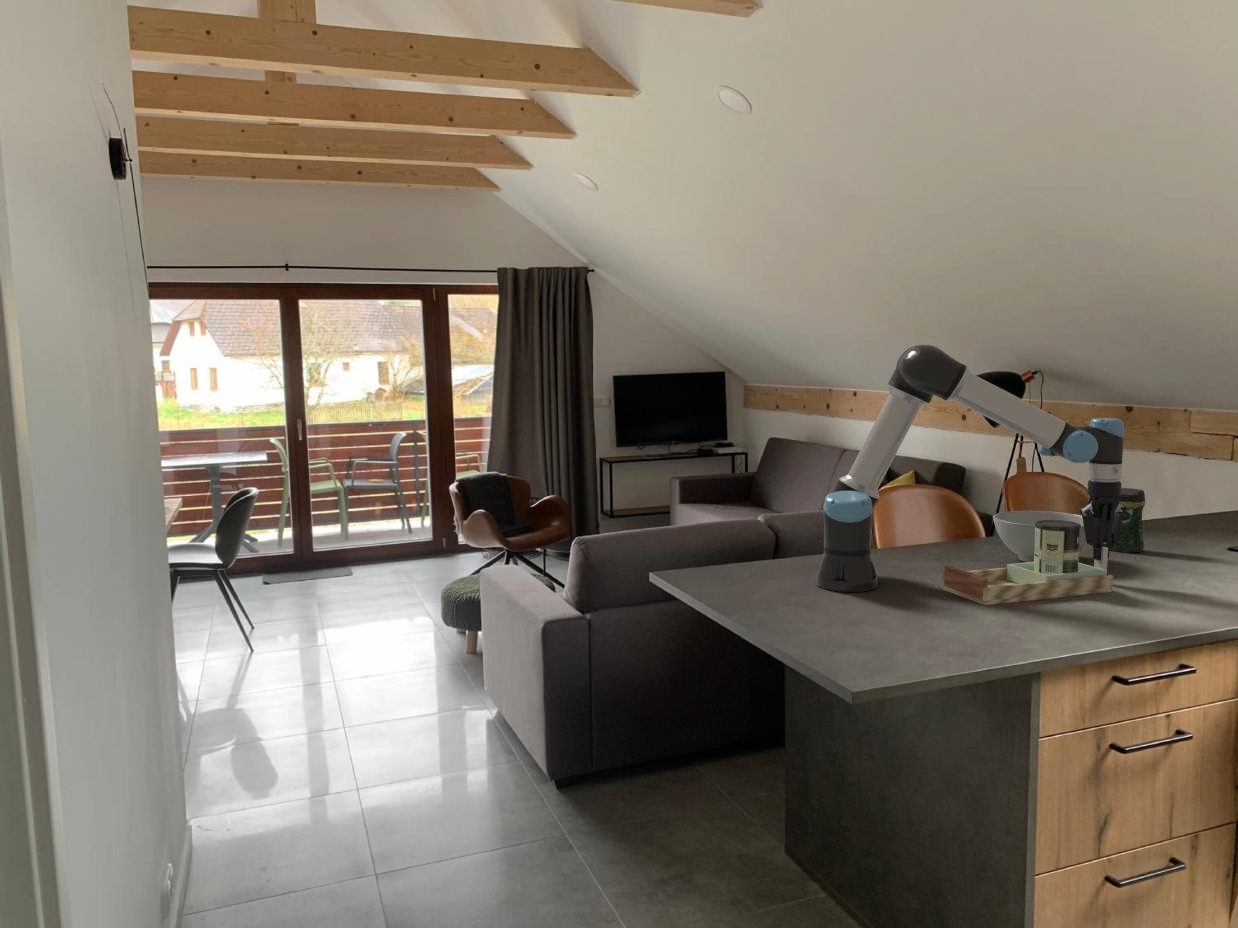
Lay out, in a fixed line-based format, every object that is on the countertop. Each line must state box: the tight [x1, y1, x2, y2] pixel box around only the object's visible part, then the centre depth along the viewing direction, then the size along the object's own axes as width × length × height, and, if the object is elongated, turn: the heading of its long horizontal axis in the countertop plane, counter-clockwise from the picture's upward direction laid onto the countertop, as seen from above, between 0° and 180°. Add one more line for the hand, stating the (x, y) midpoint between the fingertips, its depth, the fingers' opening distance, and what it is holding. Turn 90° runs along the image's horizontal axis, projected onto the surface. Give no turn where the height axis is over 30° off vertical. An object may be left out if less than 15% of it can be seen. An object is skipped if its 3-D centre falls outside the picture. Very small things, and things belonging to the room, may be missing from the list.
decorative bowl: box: [992, 510, 1088, 563], centre depth 261 cm, size 27×27×12 cm
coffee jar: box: [1109, 487, 1147, 553], centre depth 273 cm, size 10×8×19 cm
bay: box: [941, 565, 1114, 606], centre depth 228 cm, size 37×16×6 cm, turn 107°
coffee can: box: [1034, 520, 1081, 575], centre depth 230 cm, size 10×10×14 cm
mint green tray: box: [1006, 562, 1108, 584], centre depth 231 cm, size 18×14×4 cm
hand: (1100, 572), depth 235 cm, fingers closed
